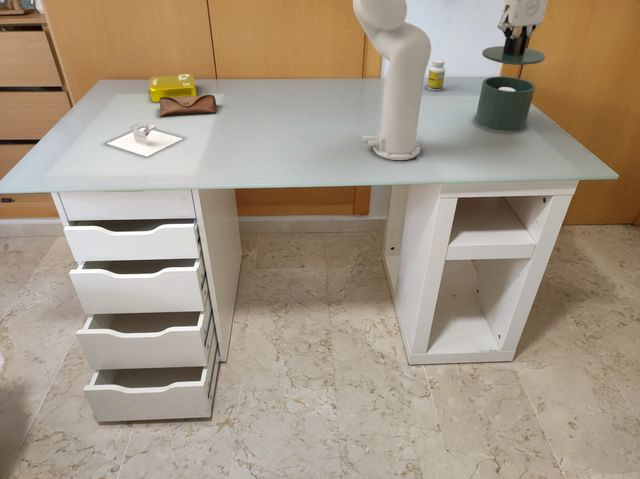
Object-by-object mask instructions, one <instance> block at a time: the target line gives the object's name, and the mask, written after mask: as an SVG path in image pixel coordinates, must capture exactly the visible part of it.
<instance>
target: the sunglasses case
mask: <svg viewBox="0 0 640 479" xmlns="http://www.w3.org/2000/svg"><path fill="white" fill-rule="evenodd" d="M159 101H160V102H159V114H158V116H159V117H167V116H187V115H204V114H212V113H216V112H217V107H218V106H217V101H216V96H214V95H213V94H205V95H197V96H186V97H161V98H160V100H159Z"/></svg>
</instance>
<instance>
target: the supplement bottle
mask: <svg viewBox="0 0 640 479" xmlns="http://www.w3.org/2000/svg"><path fill="white" fill-rule="evenodd" d="M444 65H445V60H444V59H438V58H437V59H433V60H432V64H431V66H430V67H429V71H428V72H429V73H428V80H427V86H426V87H427V90H429V91H433V92H439V91H443V86H444V81H445V74H446V67H444Z"/></svg>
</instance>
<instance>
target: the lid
mask: <svg viewBox="0 0 640 479" xmlns="http://www.w3.org/2000/svg"><path fill="white" fill-rule="evenodd" d="M519 35H520V34H516V36H515V38H514V39H516V44H515V49H514V53H513V55H511V56H510V55H507V54H505V53H503V50H504V45H500V46H498V45H497V46H491V47H487V48H484V49H483V50H482V53H481V55H482V56H483V57H484V58H485V59H487V60H489V61H492V62H496V63H500V64H503V65H511V66H513V65H515V66H524V65H525V66H526V65H536V64H540V63H542V62H544V61H545V58H546V55H545V54H544V53H543V52H541V51H539V50H536V49H533V48H528V47H526V48H525V52H524V54H520V53H519V52H520V48H521V44H522V40H523V36H519Z"/></svg>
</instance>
